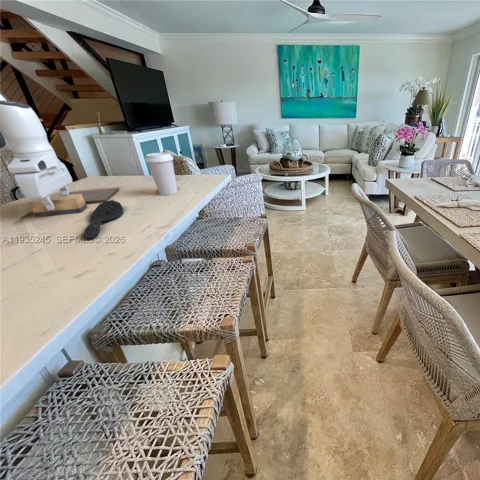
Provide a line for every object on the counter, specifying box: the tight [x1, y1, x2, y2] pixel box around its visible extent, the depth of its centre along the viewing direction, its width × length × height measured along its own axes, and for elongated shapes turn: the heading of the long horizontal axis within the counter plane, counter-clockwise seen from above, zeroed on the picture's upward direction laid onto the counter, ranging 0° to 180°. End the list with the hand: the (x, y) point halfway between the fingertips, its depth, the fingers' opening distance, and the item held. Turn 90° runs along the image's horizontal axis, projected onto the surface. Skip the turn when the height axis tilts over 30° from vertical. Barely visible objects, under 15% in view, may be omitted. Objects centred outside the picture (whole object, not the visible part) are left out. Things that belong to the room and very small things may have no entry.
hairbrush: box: [83, 199, 124, 241], centre depth 79 cm, size 8×4×25 cm
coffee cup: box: [144, 152, 178, 196], centre depth 103 cm, size 10×10×15 cm
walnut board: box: [57, 187, 120, 205], centre depth 100 cm, size 20×16×1 cm
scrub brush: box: [27, 194, 88, 218], centre depth 86 cm, size 12×5×5 cm, turn 109°
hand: (59, 204), depth 86 cm, fingers open, 8 cm apart
